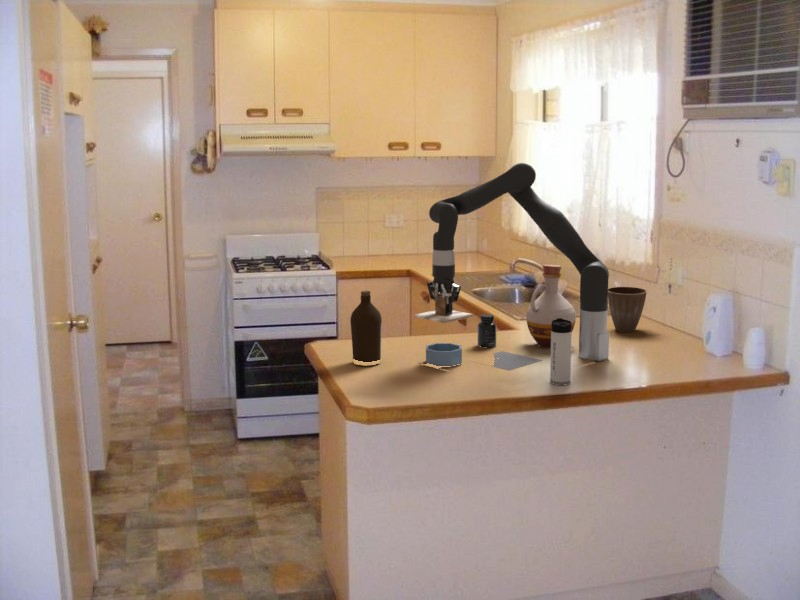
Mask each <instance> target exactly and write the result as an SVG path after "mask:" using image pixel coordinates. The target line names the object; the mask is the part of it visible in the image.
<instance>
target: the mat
mask: <svg viewBox="0 0 800 600" xmlns="http://www.w3.org/2000/svg"><path fill="white" fill-rule="evenodd" d="M493 354H494V358H495V360H494V361H495V362H494V365H493V366H494V367H493V368H496V369H501V370H506V371H512V370H516V369H518V368H523V367H526V366H530V365H533V364H535V363H539V362H542V361H544V360H543V359H539V358H534V357H531V356H525V355H522V354H521V355H520V354H517V353H513V352H507V351H503V350H501V351H499V352H494V353H493ZM497 358H499V359H497Z"/></svg>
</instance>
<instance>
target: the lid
mask: <svg viewBox="0 0 800 600" xmlns="http://www.w3.org/2000/svg"><path fill="white" fill-rule="evenodd" d="M449 300H450V297H449ZM434 305H435V307H434V309H433V310H430V311H425V312H420V313H416V314H414V315H413V317H414V318H418V319H423V320H427V321H428V320H429V321H432V322H438V323H443V324H446V323H451V322H456V321H460V320H465V319H468V318H473V317H474V314H473V313H468V312H463V311H458V310H453V309H452V314H450V315H446V298H445V297H444V295H442V296H438V297H435V301H434Z"/></svg>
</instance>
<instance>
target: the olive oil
mask: <svg viewBox="0 0 800 600" xmlns="http://www.w3.org/2000/svg"><path fill="white" fill-rule="evenodd" d="M371 297H372V296H371V291H370V290H361V291H360V303H359V304H358V305H357V307H356V308H355V309H354V310H353V311H352V312H351V315H350V333H351V345H352V346H351V347H352V360H353V359H355V360H358V361H363V362H372V361H377V360H380V359H382V358H381V353H382V325H383V324H382V321H383V320H382V315H381V311H379V310H378V309H377V307H376V306H375V305H374V304H373V303H372V302H371Z"/></svg>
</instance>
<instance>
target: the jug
mask: <svg viewBox="0 0 800 600" xmlns="http://www.w3.org/2000/svg"><path fill="white" fill-rule="evenodd" d="M542 269H543V272H542V277H543V279H544V283H541V284H539V285H538V286H537V287H536V288H535V290H534V291H533V293H532V295H531V298H530V304H529V307H528V308H527V311H526V315H525V317H526V324H527V329H528V331H529V334H530V336H531V337H532V338H533V340H534V341H535V342H536V344H537V345H538V346H539V347H540V348H543V347H544V348H543V349H551V333H552V332H551V329H552V327H551V325H552V321H553V320H556V319H557V318H562V319H564V320H569V321H571V323H572V328H571V331H572V332H573V331H574V328H575V325H576V320H577V314H576V311H575V308H574V307H573V305H572V304H571V303H570V302H569V300H567V299H566V298H565V297H564V296H563V295H562V294H561V293H560V292H559V281H560V278H561V275H562V272H561V269H562V265H559V264H542ZM543 288H544V290H543V292H542V293H541V294H540V296H539V297H537V296H538V294H539V292H540V291H541V289H543Z"/></svg>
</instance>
